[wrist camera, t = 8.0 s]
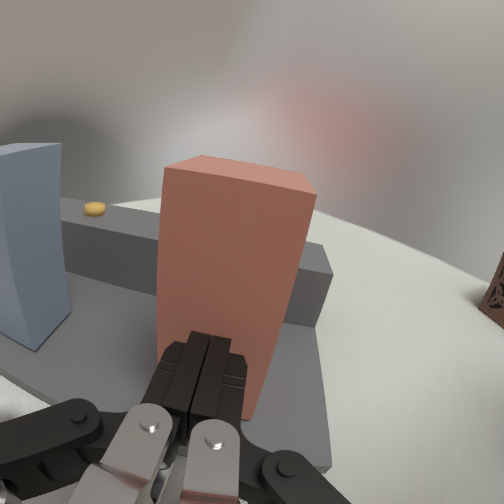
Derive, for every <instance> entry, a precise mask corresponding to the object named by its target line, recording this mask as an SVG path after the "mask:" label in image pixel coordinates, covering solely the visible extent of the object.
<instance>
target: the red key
mask: <svg viewBox="0 0 504 504" xmlns="http://www.w3.org/2000/svg"><path fill="white" fill-rule="evenodd" d="M316 196H317V194H316V192H315V191H314V189H313V188H312V186H311V185H310V183H309V182H308V180H307V179H306V177H305V176H304V175H303V174H302V173H297V172H293V171H288V170H283V169H278V168H273V167H268V166H263V165H257V164H252V163H247V162H241V161H235V160H229V159H223V158H216V157H210V156H203V155H200V156H197V157H194V158H191V159H188V160H185V161H181V162H178V163H176V164H173V165H170V166H167V167H165V168H164V177H163V188H162V198H161V210H160V223H159V240H158V261H157V355H158V363H159V361H160V360H161V357H162V355H163V353H164V350H165V348H166V347H168V346H169V345H170V344H171V343H173V342H174V341H179V342H183V343H187V340H188V338H189V335H190V333H191V331H197V332H201V333H206V334H210V335H211V338H212V335H215V336H220V337H225V338H230V339H232V341H231V346H230V352H229V353H235V354H240V355H244V358H245V360H246V363H247V365H248V370H247V378H246V385H245V393H244V401H243V409H242V417H241V419H244V420H250V421H251V419H252V416H253V413H254V410H255V408H256V405H257V402H258V399H259V396H260V393H261V390H262V387H263V384H264V381H265V378H266V375H267V371H268V368H269V365H270V362H271V359H272V356H273V353H274V349H275V346H276V343H277V340H278V336H279V333H280V330H281V327H282V323H283V320H284V316H285V313H286V310H287V306H288V303H289V299H290V296H291V292H292V289H293V285H294V282H295V278H296V274H297V271H298V267H299V263H300V260H301V256H302V252H303V248H304V245H305V241H306V237H307V233H308V229H309V225H310V221H311V217H312V213H313V209H314V205H315V200H316Z"/></svg>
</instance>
